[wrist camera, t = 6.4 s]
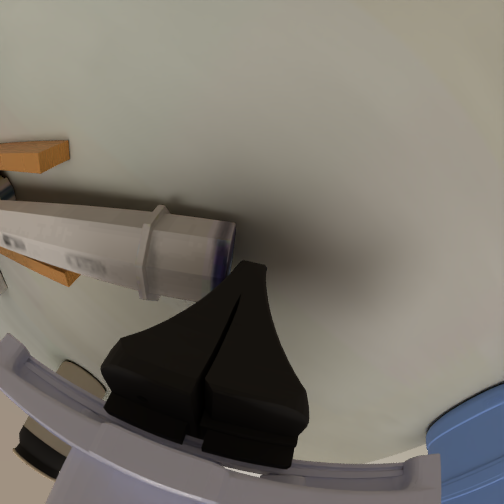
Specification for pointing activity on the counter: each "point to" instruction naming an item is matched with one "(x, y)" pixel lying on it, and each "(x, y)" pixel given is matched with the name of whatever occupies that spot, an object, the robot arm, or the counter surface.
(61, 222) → the electric toothbrush
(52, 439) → the travel mug
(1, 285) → the supplement box
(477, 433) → the water jug
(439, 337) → the counter surface
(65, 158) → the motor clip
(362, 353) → the counter surface
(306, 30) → the counter surface
